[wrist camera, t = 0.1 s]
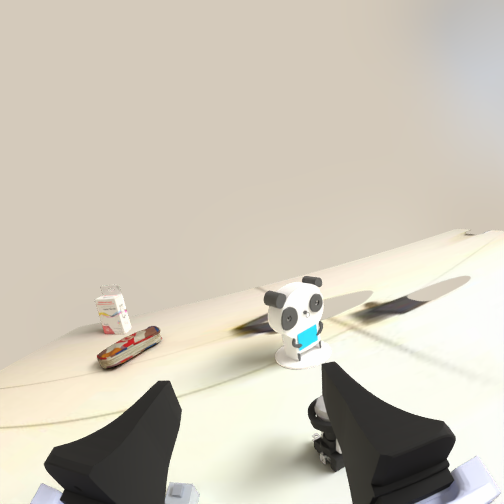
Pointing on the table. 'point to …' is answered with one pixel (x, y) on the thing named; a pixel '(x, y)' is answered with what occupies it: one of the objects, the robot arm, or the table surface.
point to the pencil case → (129, 347)
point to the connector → (181, 494)
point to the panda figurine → (298, 323)
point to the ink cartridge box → (113, 311)
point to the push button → (325, 435)
